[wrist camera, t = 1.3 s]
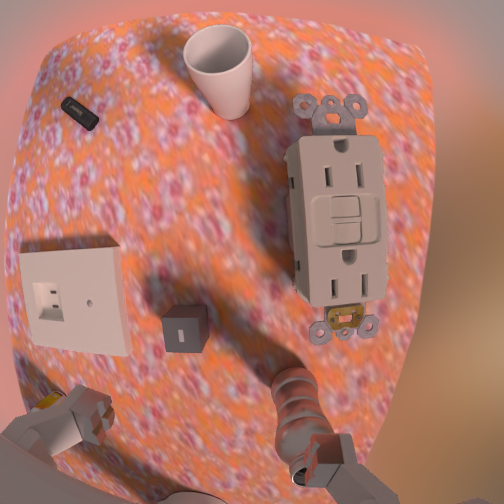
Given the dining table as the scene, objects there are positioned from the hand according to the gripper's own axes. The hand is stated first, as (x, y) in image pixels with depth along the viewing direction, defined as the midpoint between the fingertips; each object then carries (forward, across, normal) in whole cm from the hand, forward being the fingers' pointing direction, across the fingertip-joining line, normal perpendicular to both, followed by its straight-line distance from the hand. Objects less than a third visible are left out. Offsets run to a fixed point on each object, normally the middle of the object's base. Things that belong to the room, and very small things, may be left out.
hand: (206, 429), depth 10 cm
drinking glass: (+34, -6, +19) cm, 39 cm away
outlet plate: (+28, -28, -12) cm, 41 cm away
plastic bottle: (+28, +8, -19) cm, 35 cm away
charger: (+29, -8, -12) cm, 32 cm away
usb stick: (+34, -31, +17) cm, 49 cm away
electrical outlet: (+32, +9, +4) cm, 34 cm away
